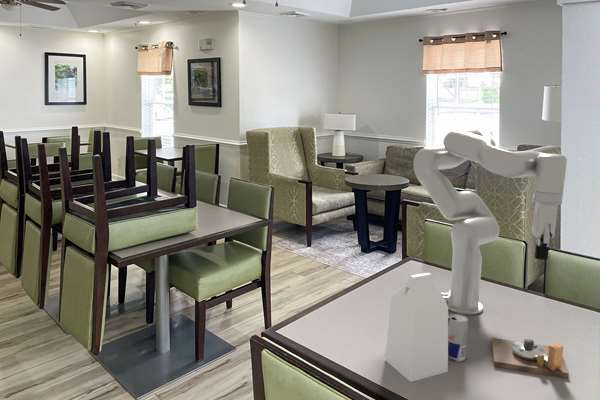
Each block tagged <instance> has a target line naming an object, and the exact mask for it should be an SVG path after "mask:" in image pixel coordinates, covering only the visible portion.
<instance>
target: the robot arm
mask: <svg viewBox="0 0 600 400" xmlns="http://www.w3.org/2000/svg"><path fill="white" fill-rule="evenodd" d="M567 160H568V159H567V156H566V155H563V154H559V153H558V154H557V153H545V152H541V151H537V150H521V151H509V150H506V149H502V148H499V147H497V145H496V142H495V141H494V139H492V138H491V137H486V136H484V135H483V134H482V133H481V132H480V131H478V130H477V129H474V128H472V129H471V128H470V129H466V128H465V129H455V130H451V131H450V132H448V133H447V134H446V135H445V137H444V138H443V145H434V146H427V147H424V148H421V149H419V150H418V151H417V152H416V154H415V155H414V159H413V171H414V174H415V177H416V179H417V180H418V181H419V183H420V184H421V186H423V188H424V189H425V190H426V192H427V193H428V195H429V197H430V198H431V200H432V201H433V203H434V204H435V206H436V208H437V209H438V211H439V212H440V214H441V215H442V216H443V218H444V219H445V220H448V221H457V220H458V221H457V222H455V224H454V225H453V226H452V228H451V230H450V231H451V232H450V234H451V235H450V236H451V245H452V259H451V260H452V261H451V275H450V277H451V278H450V286H449V288H450V289H449V291H448V292H440V293H441V295H442V296H443V298H444V299H445V301H446V303H447V306H448V311H451V312H454V313H455V314H461V315H469V316H470V315H471V316H473V315H477V314H480V313H482V312H483V310H484V305H483V303H481V302H479V300H480V291H481V289H480V288H481V280H482V279H481V278H482V264H483V259H482V258H483V257H482V254H481V250H480V246H481V245H485V244H489V243H491V242H495V241H496V240H497V239H498V238H499V235H500V231H501V229H500V226H499V223H498V221H497V219H496V218H495V216H494V215H493V213H492V212H491V210H490V209H489V207H488V206H487V205H486V203H485V201H484V200H483V199H482V197H480V196H479V194H478V193H476V192H474V191H472V190H471V191H470V190H464V191H458V190H457V189H456V187H454V186H453V184H452V181H450V180H449V178H448V177H447V176H446V175H444V174H443V173H441V172H440V170H446V169H447V170H448V169H454V168H456V167H458V166H459V165H461V164H463V163H465V162H466V161H471V162H475V163H478V164H479V165H480V166H481V168H482V167H483V169H485V170H486V171H488V172H491V173H493V174H496V175H498V176H502V177H504V178H505V177H506V178H509V179H510V178H511V179H518V178H525V177H534V186H533V197H532V202H533V203H535V205H534V210H533V217H532V225H531V232H532V234H533V236H534V237H535V238H536V244H535V249H534V250H535V251H534V258H535V260H542V261H543V260H544V261H547V260H548V259H549V256H548V255H549V249H550V239H551V240H552V239H554V238H555V234H556V227H557V226H556V225H557V215H558V206H559V205H562V204H563V198H564V189H565V179H566V171H567V162H568V161H567Z"/></svg>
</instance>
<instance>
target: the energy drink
mask: <svg viewBox="0 0 600 400" xmlns="http://www.w3.org/2000/svg"><path fill="white" fill-rule="evenodd" d="M468 330H469V319H468V317H467V316H466V315H465V314H460V313H451V314H448V361H452V362H456V363H461V362H463V361H465V360H466V354H467V352H466V351H467V343H468V341H467V339H468Z"/></svg>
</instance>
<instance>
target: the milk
mask: <svg viewBox="0 0 600 400" xmlns="http://www.w3.org/2000/svg"><path fill="white" fill-rule="evenodd" d="M441 293H442V292H441ZM441 293H440V289H439V288H438V287H437V285H436V284H435V281H434V277H433V274H432V273H430V272H425V273H418V274H412V275H410V276H409V278H408V280H407V282H406V284H405V286H403V287H402V288H401V289H400V290H398V291H397V292H396V293H394V294H393V295H392V297H391V298H390V299H391V300H390V307H389V316H388V317H389V319H388V328H387V339H386V348H385V362H387V363H388V364H389V365H390V366H392V368H394V370H396V371H397V372H398V373H399V374H401V375H402V376H403V377H404V378H405V379H406V380H407V381H408V382H410V383H412V382H416V381H420V380H424V379H426V378H430V377H434V376H436V375H442V374H445V373H448V372H449V359H448V317H449V309H448V306H447V303H446V300H445V299H444V298H443V296H442V295H441Z"/></svg>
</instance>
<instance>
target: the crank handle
mask: <svg viewBox="0 0 600 400" xmlns="http://www.w3.org/2000/svg"><path fill="white" fill-rule="evenodd" d="M539 345H540V344H538V345H537V343H534V346H533V350H528V349H525V348H524V340H521V341H517V342H515V343H513V347H512V352H513V353H514V354H515V355H516V356H518V357H520V358H522V359H525V360H530V361H537V357H538V354H543V355H544V365H545V366H547V368H549V369H551V370H556V369H559V368H561V362H562V356H563V353H564V345H561V344H560V343H554V344H551V345H548V346H549V353H548V356H547V355H545V354H544V349H543V348H542V347H540V346H539Z"/></svg>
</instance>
